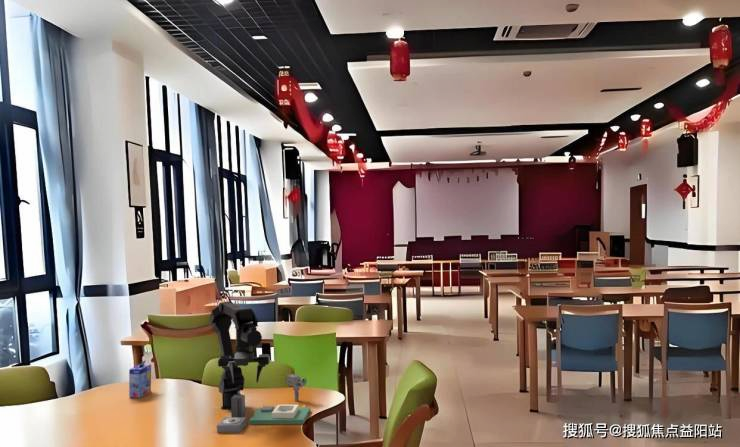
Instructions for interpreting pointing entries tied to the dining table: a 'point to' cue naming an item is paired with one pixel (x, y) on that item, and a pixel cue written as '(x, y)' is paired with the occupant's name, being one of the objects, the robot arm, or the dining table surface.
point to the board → (280, 415)
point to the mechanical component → (296, 383)
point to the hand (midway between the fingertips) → (245, 383)
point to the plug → (238, 406)
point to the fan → (231, 425)
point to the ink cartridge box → (140, 380)
